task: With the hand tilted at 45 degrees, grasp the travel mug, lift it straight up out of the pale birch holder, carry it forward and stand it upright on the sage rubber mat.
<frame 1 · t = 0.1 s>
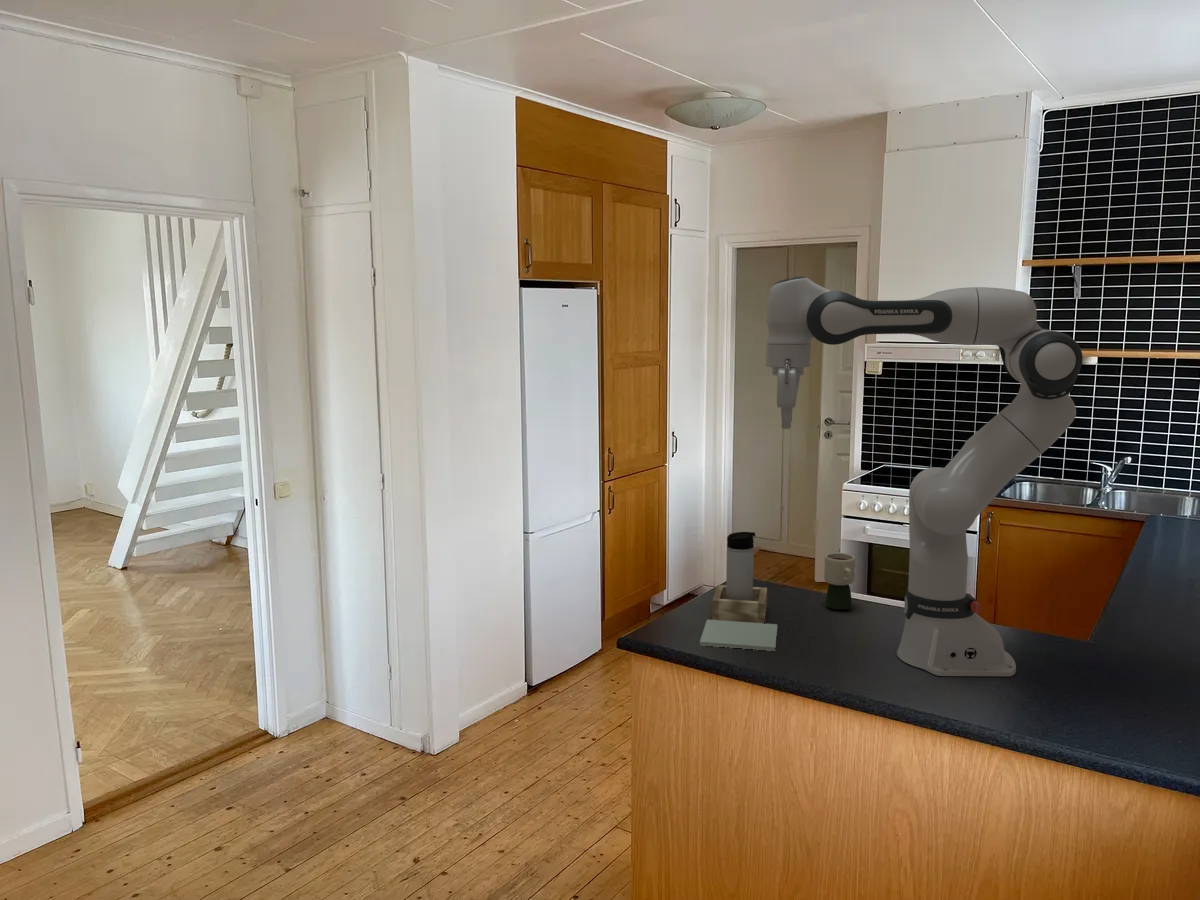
hand: (786, 425, 180), 48 cm above the worktop, tool pointing down, fingers open, 8 cm apart
character mug: (838, 609, 211), on the worktop
sage mat: (739, 637, 193), on the worktop
travel mug: (740, 614, 208), resting in birch holder
birch holder: (740, 614, 208), on the worktop
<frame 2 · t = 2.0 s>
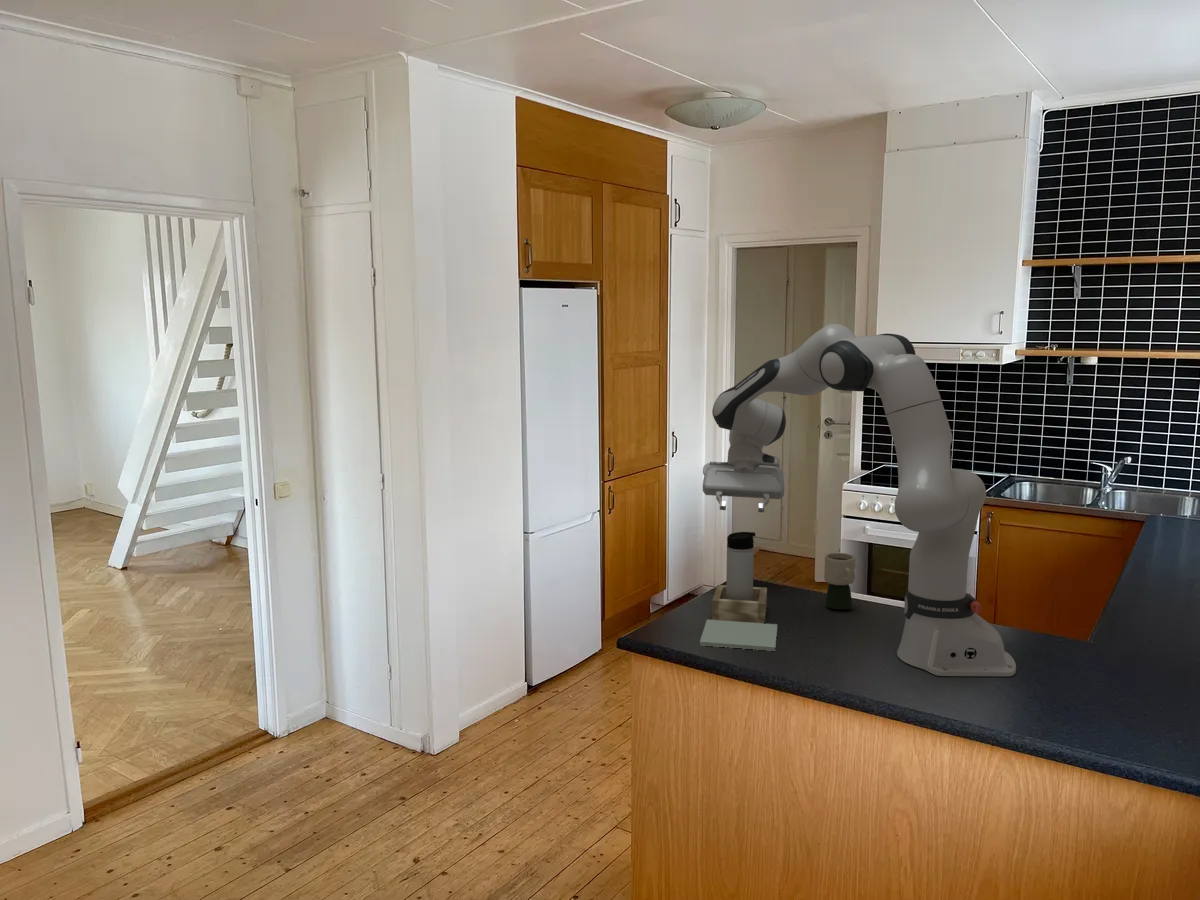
hand: (741, 510, 214), 23 cm above the worktop, tool tilted 45°, fingers open, 8 cm apart
nothing on the worktop moved.
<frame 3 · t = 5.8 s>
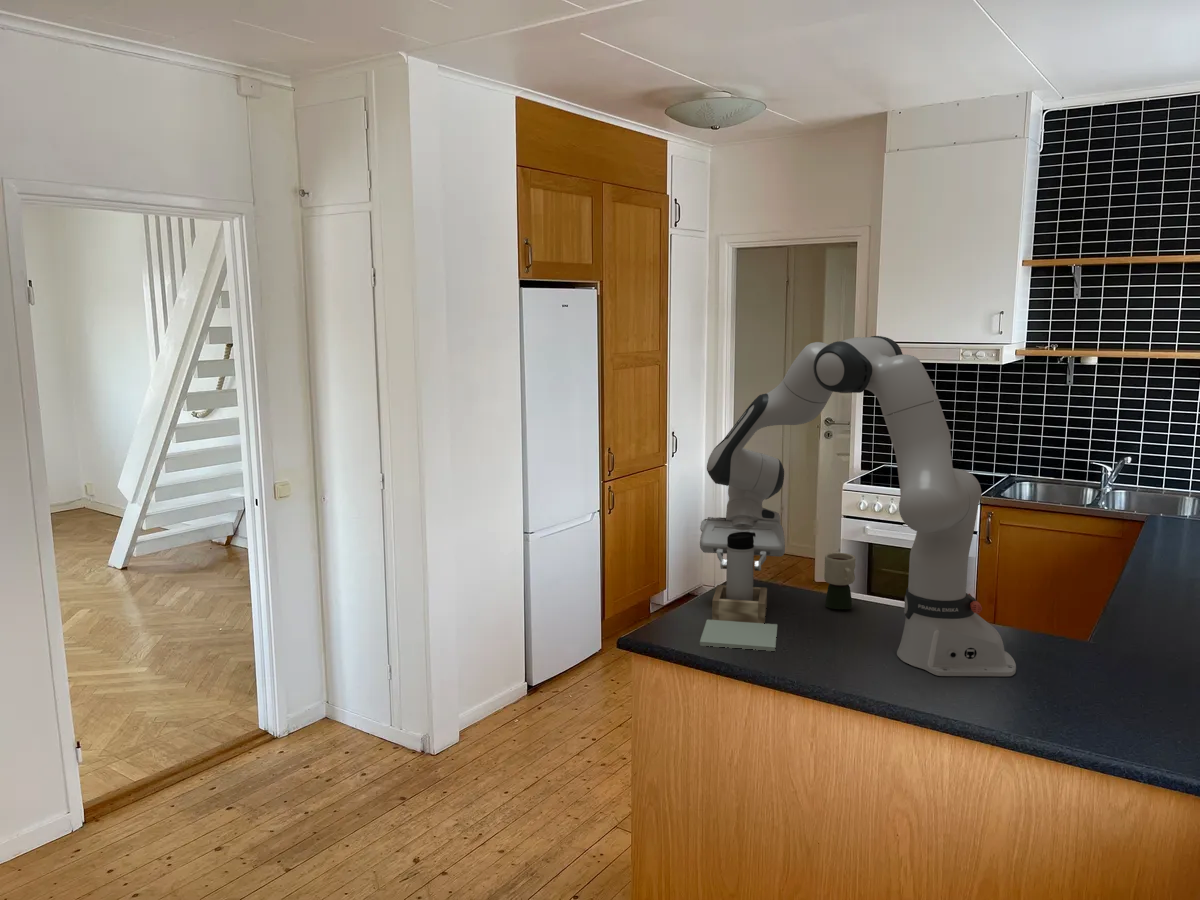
hand: (740, 568, 205), 11 cm above the worktop, tool tilted 45°, fingers closed on travel mug, 6 cm apart
travel mug: (740, 614, 208), resting in birch holder, touching gripper
everything else where it was.
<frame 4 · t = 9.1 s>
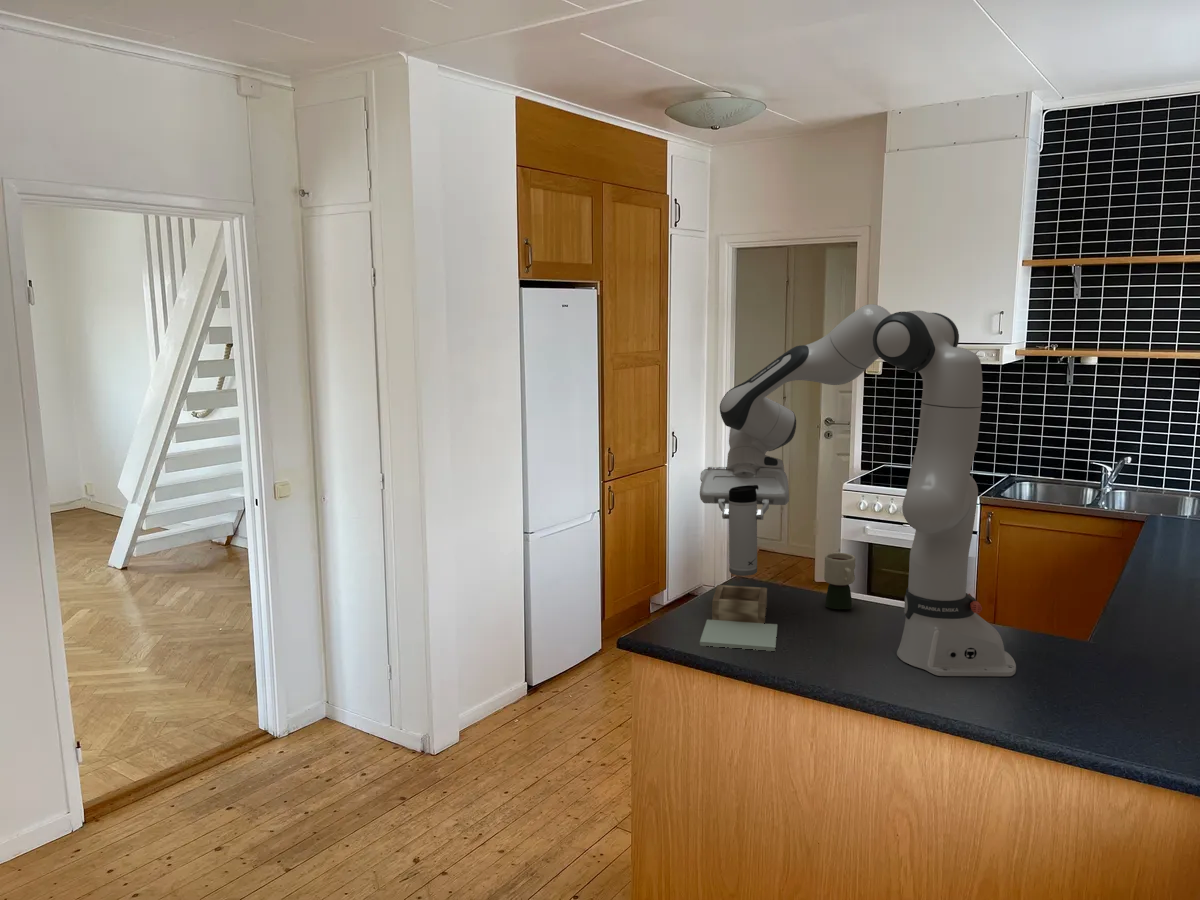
hand: (742, 518, 195), 26 cm above the worktop, tool tilted 45°, fingers closed on travel mug, 6 cm apart
travel mug: (743, 572, 198), point 13 cm above the worktop, touching gripper
everything else where it was.
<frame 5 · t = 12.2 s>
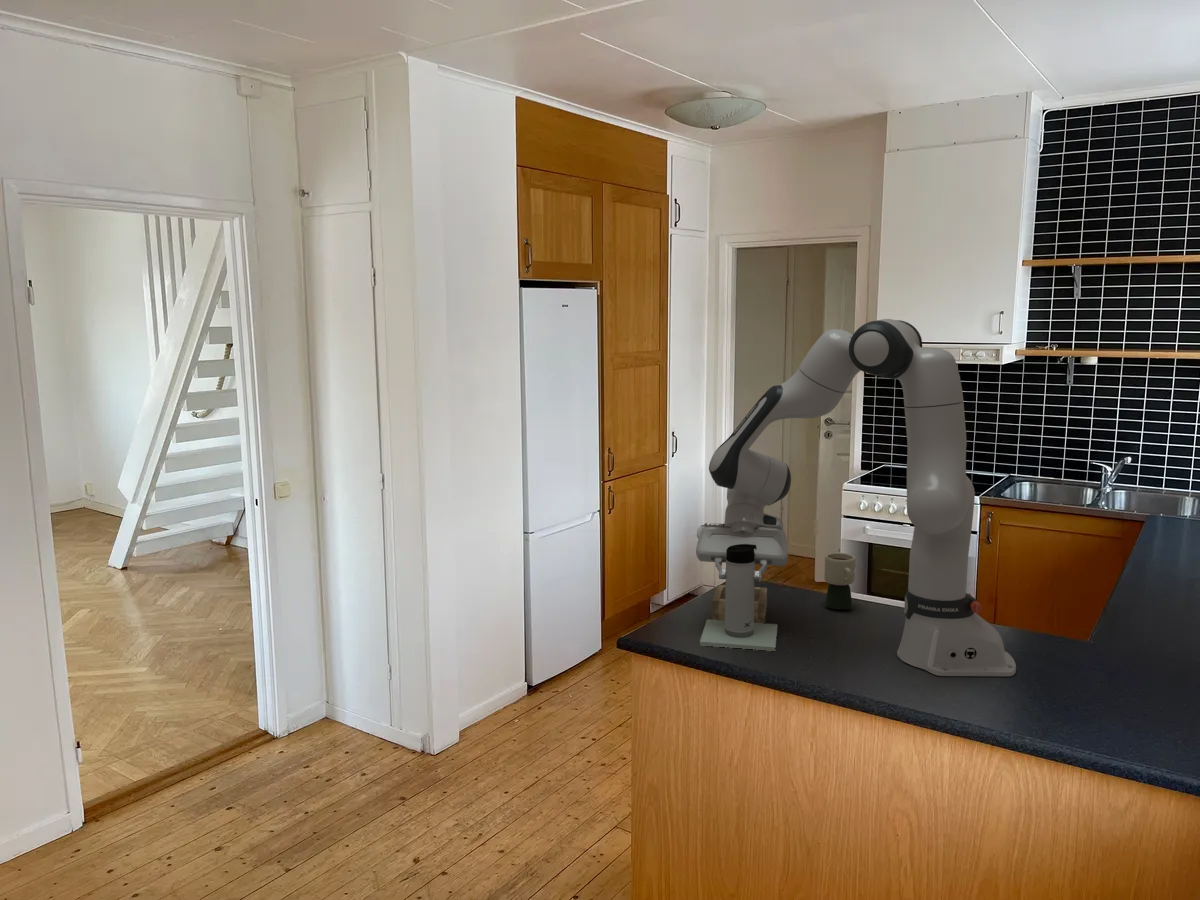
hand: (739, 579, 190), 14 cm above the worktop, tool tilted 45°, fingers closed on travel mug, 6 cm apart
travel mug: (740, 633, 193), point 1 cm above the worktop, touching gripper, sage mat
everything else where it was.
when the fingers open (13 cm above the worktop, at t = 13.0 s): travel mug stays where it is, resting on sage mat.
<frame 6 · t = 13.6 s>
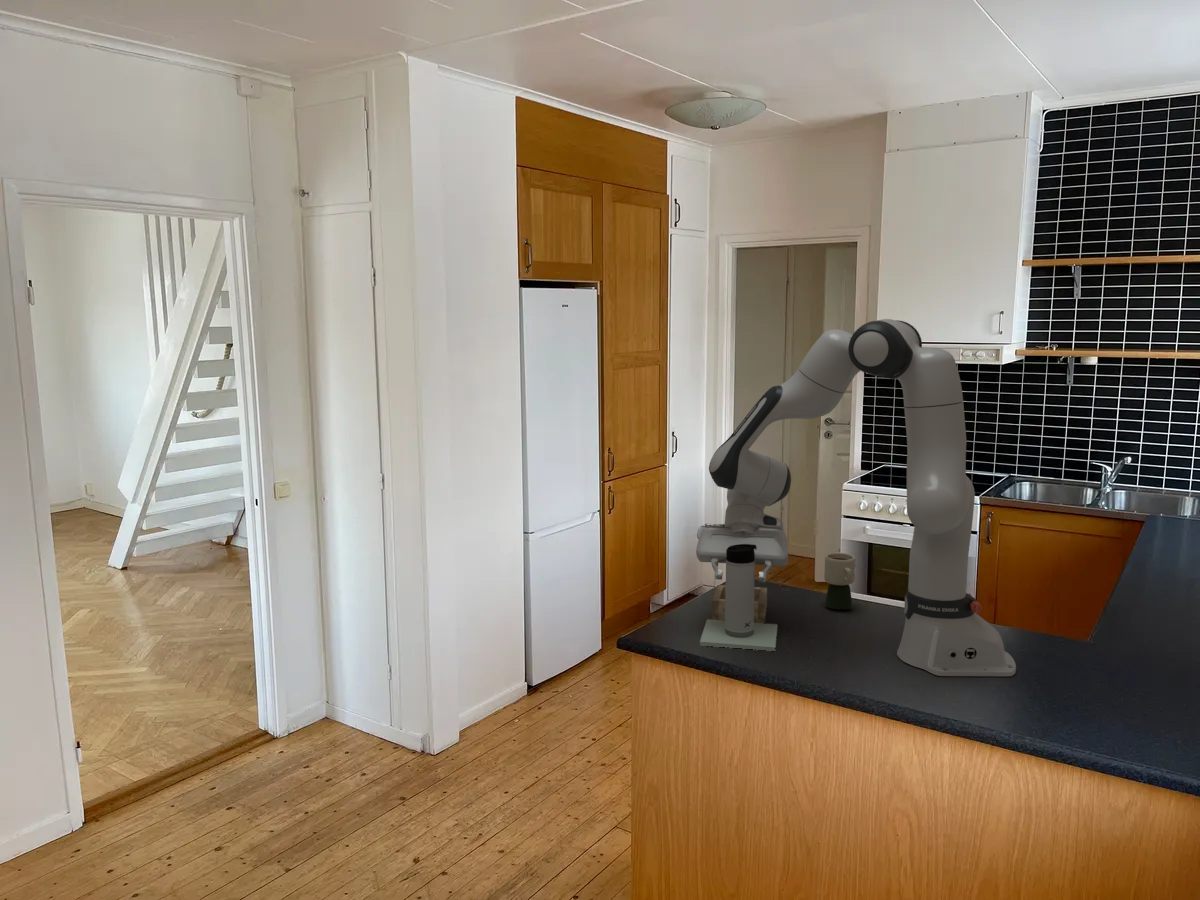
hand: (740, 579, 190), 13 cm above the worktop, tool tilted 45°, fingers open, 8 cm apart
travel mug: (740, 633, 193), point 1 cm above the worktop, touching sage mat
everything else where it was.
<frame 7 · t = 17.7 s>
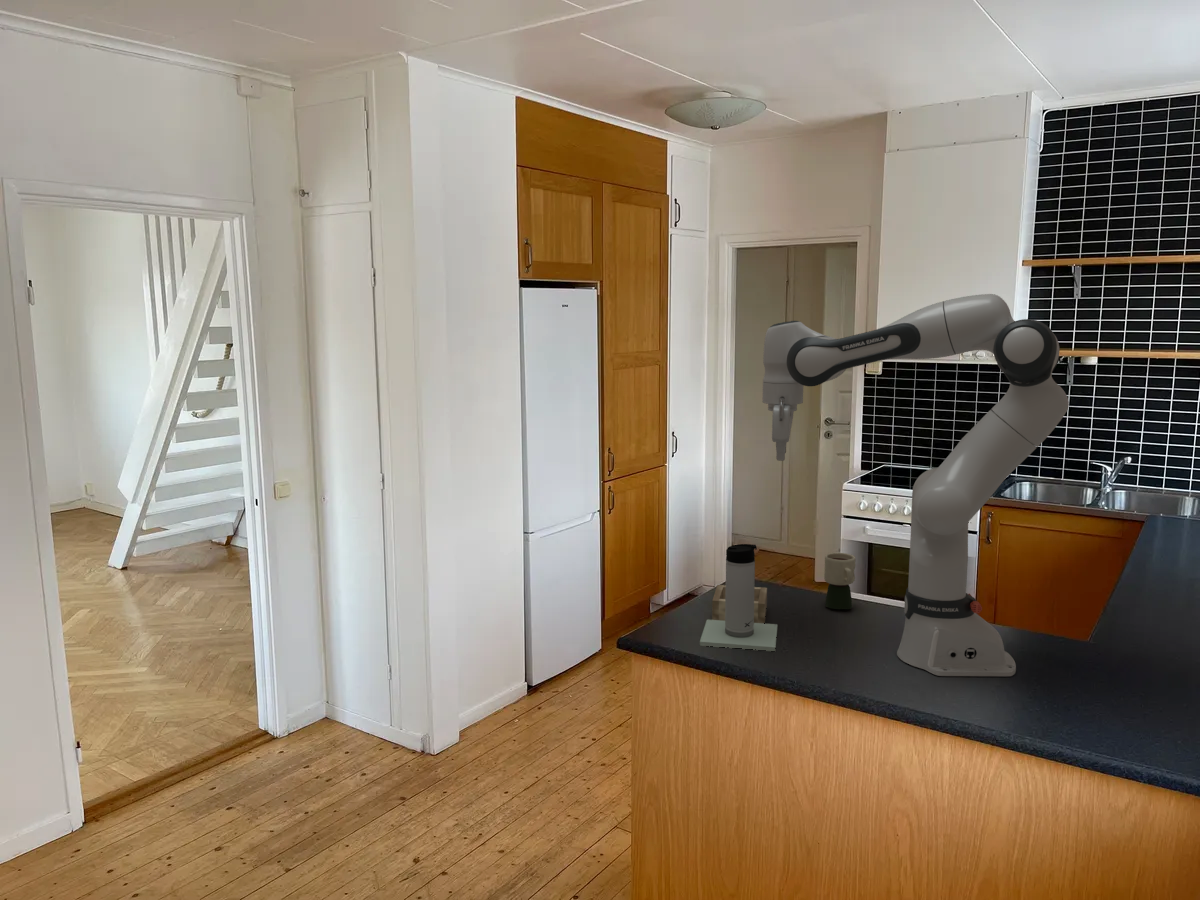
hand: (781, 456, 195), 39 cm above the worktop, tool pointing down, fingers open, 8 cm apart
nothing on the worktop moved.
at the end: travel mug inside the target area on the sage mat (0.1 cm from its centre), point 0.8 cm above the sage mat's base; travel mug tilted 0°; the gripper is holding nothing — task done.
